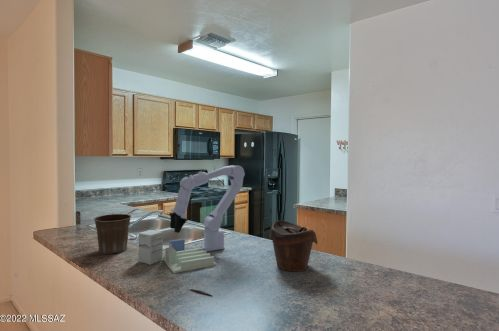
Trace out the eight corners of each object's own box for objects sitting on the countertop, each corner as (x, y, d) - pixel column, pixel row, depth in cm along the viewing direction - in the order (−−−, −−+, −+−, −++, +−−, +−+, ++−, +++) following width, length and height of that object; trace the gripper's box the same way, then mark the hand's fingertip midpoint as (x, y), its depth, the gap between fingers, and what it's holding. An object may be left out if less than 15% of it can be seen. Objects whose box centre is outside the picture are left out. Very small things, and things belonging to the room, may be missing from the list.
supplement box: (137, 262, 124) (137, 232, 124) (151, 257, 130) (151, 229, 130) (150, 265, 120) (150, 235, 120) (163, 259, 127) (163, 231, 127)
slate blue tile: (183, 251, 139) (183, 238, 139) (184, 252, 138) (184, 239, 138) (168, 253, 136) (169, 240, 135) (169, 254, 134) (169, 241, 134)
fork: (210, 299, 93) (210, 293, 93) (173, 288, 100) (173, 282, 100) (214, 295, 95) (214, 289, 95) (178, 285, 103) (178, 279, 103)
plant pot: (121, 256, 131) (121, 221, 130) (86, 255, 131) (86, 220, 131) (136, 245, 147) (136, 214, 146) (105, 245, 147) (105, 213, 147)
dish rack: (202, 254, 135) (202, 236, 135) (216, 265, 121) (216, 245, 121) (163, 260, 126) (163, 241, 126) (173, 273, 112) (173, 251, 112)
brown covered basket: (318, 276, 110) (318, 229, 110) (266, 272, 114) (266, 227, 114) (316, 261, 128) (317, 220, 128) (271, 258, 132) (272, 218, 132)
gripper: (170, 198, 141) (162, 225, 140) (178, 202, 129) (170, 233, 127) (183, 201, 145) (176, 227, 143) (193, 205, 132) (185, 235, 131)
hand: (174, 230), depth 136 cm, fingers open, 7 cm apart
